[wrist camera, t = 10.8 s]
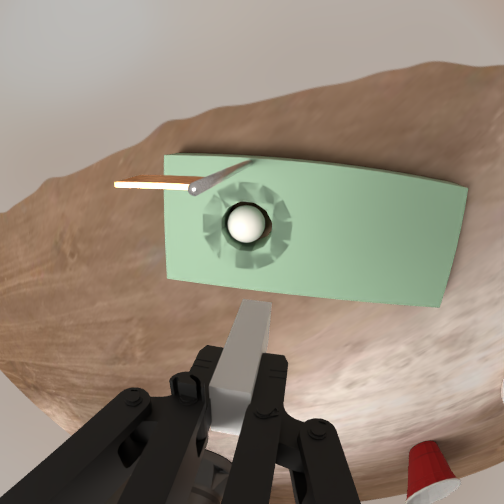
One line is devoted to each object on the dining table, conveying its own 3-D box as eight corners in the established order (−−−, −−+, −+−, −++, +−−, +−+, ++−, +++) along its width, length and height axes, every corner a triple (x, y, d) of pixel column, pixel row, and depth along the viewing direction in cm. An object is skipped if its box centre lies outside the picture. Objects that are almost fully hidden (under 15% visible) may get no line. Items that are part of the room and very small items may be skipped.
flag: (200, 164, 31) (110, 192, 16) (200, 157, 31) (110, 179, 16) (252, 166, 30) (200, 196, 15) (253, 159, 30) (201, 182, 15)
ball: (251, 233, 38) (221, 238, 36) (252, 200, 36) (221, 203, 34) (271, 244, 34) (239, 250, 32) (273, 208, 33) (240, 212, 31)
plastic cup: (433, 460, 47) (443, 505, 36) (389, 464, 48) (395, 511, 37) (457, 430, 43) (472, 477, 32) (411, 433, 44) (421, 486, 33)
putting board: (178, 265, 40) (167, 278, 36) (177, 152, 35) (164, 155, 31) (429, 292, 35) (439, 307, 32) (453, 182, 30) (468, 188, 27)
